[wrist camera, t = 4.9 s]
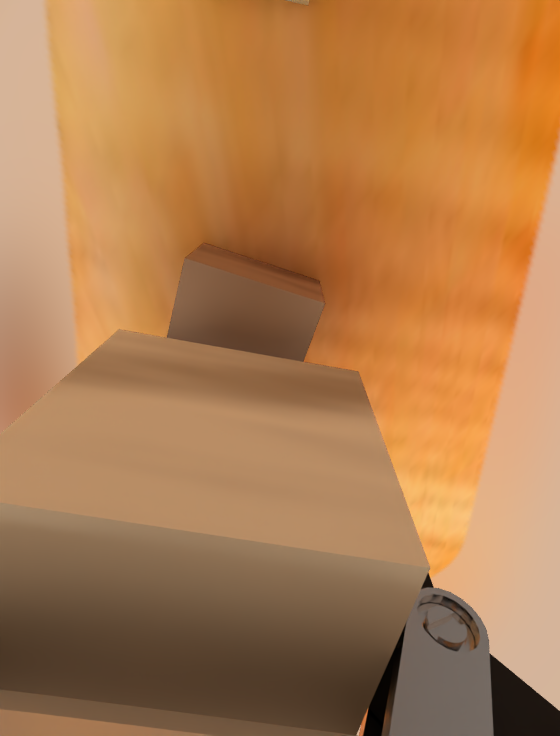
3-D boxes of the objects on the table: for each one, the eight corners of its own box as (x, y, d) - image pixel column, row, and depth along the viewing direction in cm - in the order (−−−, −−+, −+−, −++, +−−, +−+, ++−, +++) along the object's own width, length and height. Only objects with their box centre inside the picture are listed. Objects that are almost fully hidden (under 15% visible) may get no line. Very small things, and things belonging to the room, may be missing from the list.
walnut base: (204, 242, 25) (184, 258, 20) (319, 280, 25) (325, 303, 21) (178, 349, 28) (156, 384, 23) (282, 381, 28) (281, 421, 24)
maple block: (119, 329, 11) (-67, 492, 5) (358, 371, 11) (429, 567, 5) (112, 516, 13) (-19, 767, 7) (309, 547, 13) (323, 808, 8)
